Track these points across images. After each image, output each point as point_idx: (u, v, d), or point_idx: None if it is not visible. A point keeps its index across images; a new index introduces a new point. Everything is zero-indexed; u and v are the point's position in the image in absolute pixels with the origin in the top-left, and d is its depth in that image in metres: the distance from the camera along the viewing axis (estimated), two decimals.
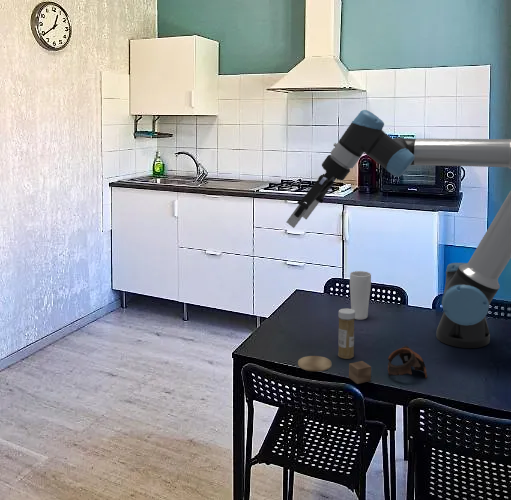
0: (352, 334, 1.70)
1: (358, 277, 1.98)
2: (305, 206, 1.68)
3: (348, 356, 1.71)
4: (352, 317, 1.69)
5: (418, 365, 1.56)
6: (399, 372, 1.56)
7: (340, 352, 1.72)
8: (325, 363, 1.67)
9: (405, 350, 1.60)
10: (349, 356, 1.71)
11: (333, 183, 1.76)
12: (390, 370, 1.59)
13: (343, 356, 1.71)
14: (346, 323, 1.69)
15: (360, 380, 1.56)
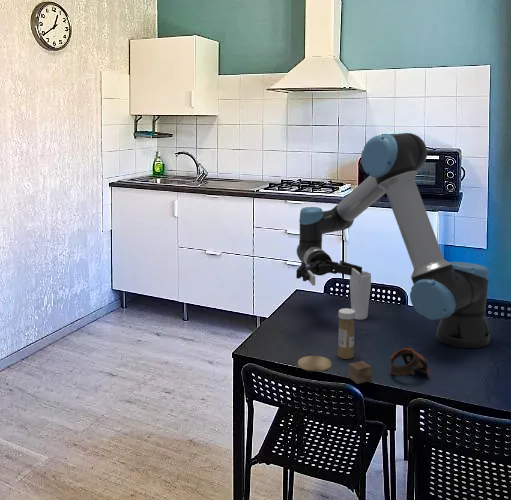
0: (352, 334, 1.70)
1: None
2: None
3: (348, 356, 1.71)
4: (352, 317, 1.69)
5: (421, 365, 1.56)
6: (402, 372, 1.56)
7: (340, 352, 1.72)
8: (325, 363, 1.67)
9: (407, 350, 1.60)
10: (349, 356, 1.71)
11: (328, 260, 1.92)
12: (392, 370, 1.58)
13: (343, 356, 1.71)
14: (346, 323, 1.69)
15: (360, 380, 1.56)
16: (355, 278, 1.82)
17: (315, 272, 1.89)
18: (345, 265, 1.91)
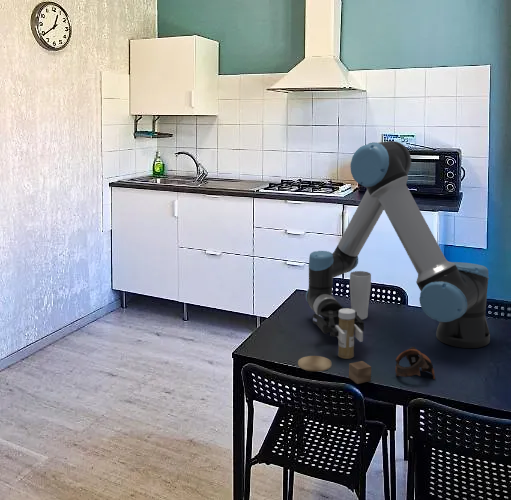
0: (352, 334, 1.70)
1: (358, 277, 1.98)
2: (323, 326, 1.73)
3: (348, 356, 1.71)
4: (352, 317, 1.69)
5: (426, 366, 1.55)
6: (407, 374, 1.55)
7: (340, 352, 1.72)
8: (325, 363, 1.67)
9: (413, 351, 1.59)
10: (349, 356, 1.71)
11: None
12: (398, 372, 1.58)
13: (343, 356, 1.71)
14: (346, 322, 1.69)
15: (360, 380, 1.56)
16: (356, 336, 1.69)
17: None
18: None
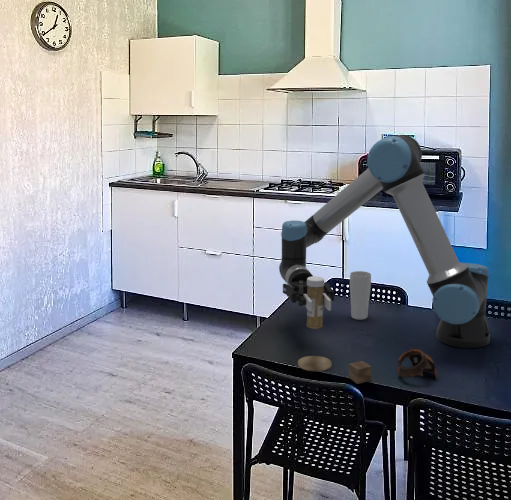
0: (321, 303, 1.63)
1: (358, 277, 1.98)
2: (291, 295, 1.66)
3: (316, 326, 1.64)
4: (320, 285, 1.61)
5: (429, 367, 1.55)
6: (410, 374, 1.55)
7: (308, 322, 1.65)
8: (325, 363, 1.67)
9: (415, 352, 1.59)
10: (317, 326, 1.64)
11: None
12: (401, 372, 1.57)
13: (311, 326, 1.64)
14: (314, 290, 1.62)
15: (360, 380, 1.56)
16: (325, 304, 1.62)
17: None
18: (324, 287, 1.73)
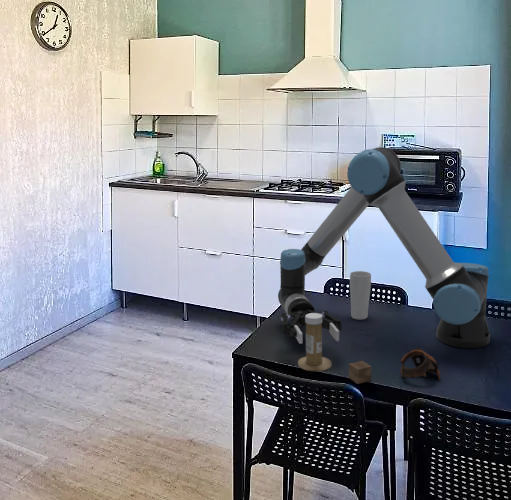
0: (319, 339, 1.65)
1: (358, 277, 1.98)
2: (282, 326, 1.67)
3: (316, 362, 1.65)
4: (319, 322, 1.63)
5: (432, 367, 1.55)
6: (413, 374, 1.55)
7: (308, 358, 1.66)
8: (325, 363, 1.67)
9: (418, 352, 1.59)
10: (317, 362, 1.66)
11: (310, 310, 1.77)
12: (404, 373, 1.57)
13: (311, 362, 1.66)
14: (313, 328, 1.63)
15: (360, 379, 1.56)
16: (333, 335, 1.65)
17: (299, 324, 1.73)
18: (327, 317, 1.75)
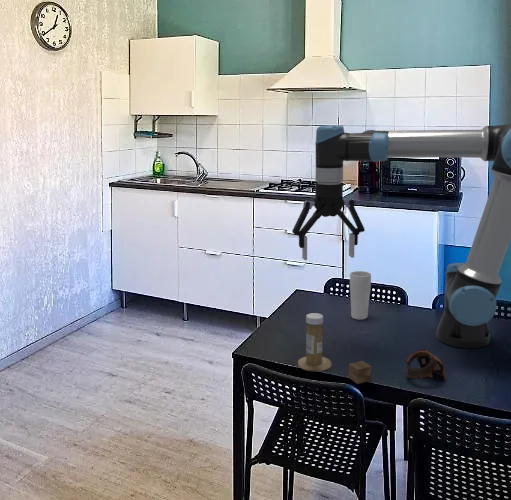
0: (320, 340, 1.65)
1: (358, 277, 1.98)
2: (293, 232, 1.71)
3: (316, 362, 1.65)
4: (320, 322, 1.63)
5: (438, 368, 1.54)
6: (419, 375, 1.54)
7: (308, 358, 1.66)
8: (325, 363, 1.67)
9: (423, 353, 1.58)
10: (317, 362, 1.66)
11: (336, 206, 1.70)
12: (409, 374, 1.56)
13: (311, 362, 1.66)
14: (314, 328, 1.63)
15: (360, 380, 1.56)
16: (349, 246, 1.76)
17: None
18: (351, 212, 1.73)
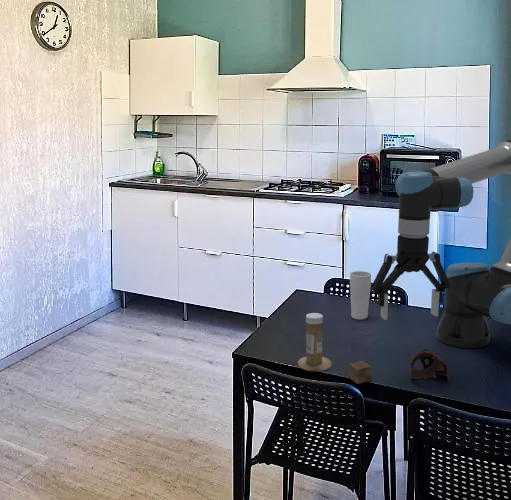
0: (320, 339, 1.65)
1: (358, 277, 1.98)
2: (373, 289, 1.54)
3: (316, 362, 1.65)
4: (319, 322, 1.63)
5: (442, 368, 1.54)
6: (423, 376, 1.54)
7: (308, 358, 1.66)
8: (325, 363, 1.67)
9: (427, 353, 1.58)
10: (317, 362, 1.66)
11: (421, 261, 1.53)
12: (413, 374, 1.56)
13: (311, 362, 1.66)
14: (313, 328, 1.63)
15: (360, 380, 1.56)
16: (432, 304, 1.59)
17: None
18: (437, 267, 1.56)
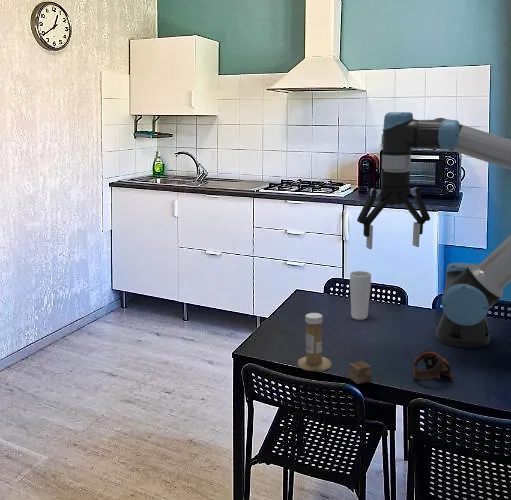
0: (319, 339, 1.65)
1: (358, 277, 1.98)
2: (359, 221, 1.68)
3: (316, 362, 1.65)
4: (319, 322, 1.63)
5: (446, 369, 1.54)
6: (427, 377, 1.53)
7: (308, 358, 1.66)
8: (325, 363, 1.67)
9: (430, 354, 1.58)
10: (317, 362, 1.66)
11: (403, 194, 1.67)
12: (417, 375, 1.56)
13: (311, 362, 1.66)
14: (313, 328, 1.63)
15: (360, 380, 1.56)
16: (413, 236, 1.74)
17: None
18: (417, 201, 1.70)
